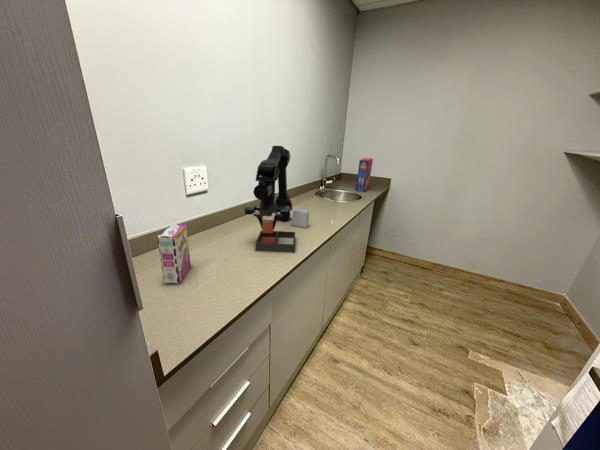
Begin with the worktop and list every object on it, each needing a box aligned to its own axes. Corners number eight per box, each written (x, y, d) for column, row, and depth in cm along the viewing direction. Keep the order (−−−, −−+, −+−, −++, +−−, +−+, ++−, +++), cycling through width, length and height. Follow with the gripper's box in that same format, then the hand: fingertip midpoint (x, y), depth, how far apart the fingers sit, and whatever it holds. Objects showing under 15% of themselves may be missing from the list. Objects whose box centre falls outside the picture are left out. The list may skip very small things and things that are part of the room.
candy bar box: (180, 284, 77) (173, 237, 71) (163, 284, 76) (155, 236, 71) (192, 266, 87) (186, 223, 82) (177, 266, 87) (171, 223, 81)
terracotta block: (262, 232, 104) (262, 222, 102) (263, 228, 108) (263, 219, 106) (272, 233, 104) (272, 223, 102) (273, 229, 108) (273, 219, 106)
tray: (255, 250, 101) (255, 243, 100) (260, 237, 115) (260, 230, 113) (294, 252, 102) (294, 244, 100) (294, 238, 115) (295, 232, 114)
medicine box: (308, 225, 132) (309, 210, 129) (306, 228, 129) (307, 212, 125) (295, 223, 135) (295, 208, 132) (292, 225, 131) (292, 210, 128)
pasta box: (364, 192, 222) (368, 160, 212) (355, 190, 225) (359, 160, 215) (368, 186, 246) (372, 158, 236) (360, 185, 249) (364, 158, 239)
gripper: (241, 197, 92) (242, 235, 98) (289, 199, 93) (288, 237, 98) (247, 191, 103) (248, 225, 108) (290, 193, 103) (289, 227, 109)
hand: (267, 228), depth 106 cm, fingers closed on terracotta block, 4 cm apart
